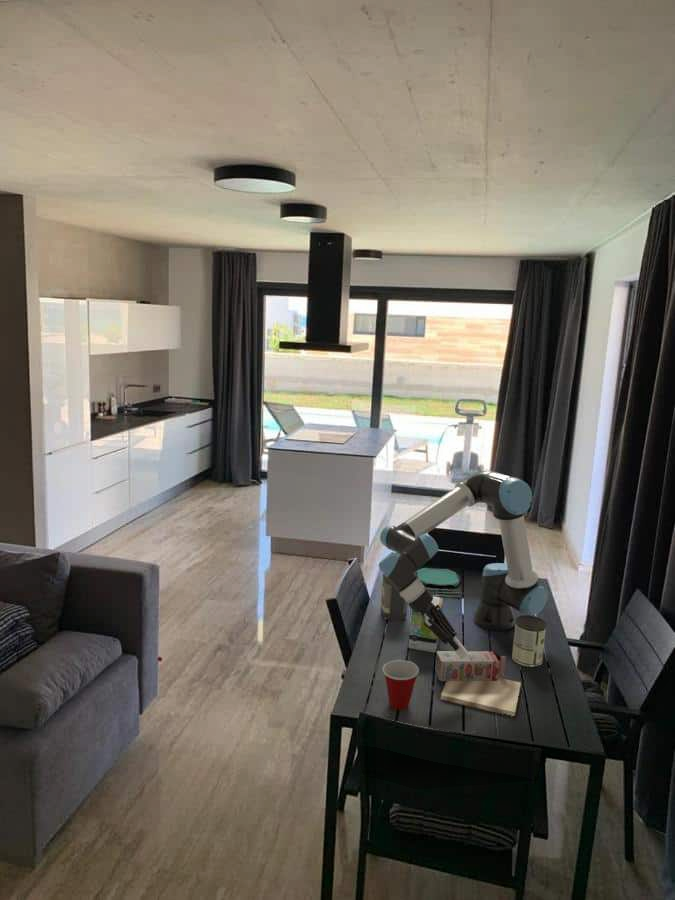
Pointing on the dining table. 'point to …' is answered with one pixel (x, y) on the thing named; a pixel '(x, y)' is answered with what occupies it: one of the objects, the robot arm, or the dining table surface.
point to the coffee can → (529, 640)
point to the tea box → (423, 631)
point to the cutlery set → (439, 580)
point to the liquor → (392, 602)
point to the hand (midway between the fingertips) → (464, 656)
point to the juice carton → (469, 666)
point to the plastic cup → (400, 682)
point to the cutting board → (484, 694)
